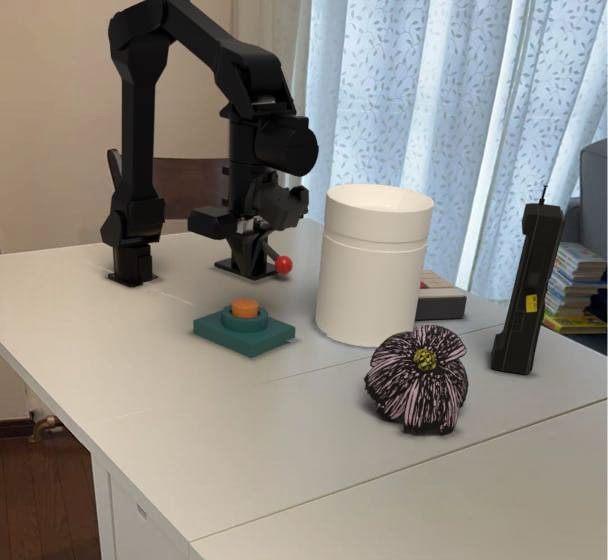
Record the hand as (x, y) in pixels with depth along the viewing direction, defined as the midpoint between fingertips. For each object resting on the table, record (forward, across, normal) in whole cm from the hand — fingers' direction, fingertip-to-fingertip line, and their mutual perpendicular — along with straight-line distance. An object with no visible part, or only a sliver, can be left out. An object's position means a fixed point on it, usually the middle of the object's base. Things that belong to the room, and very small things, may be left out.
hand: (246, 275), depth 117 cm
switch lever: (+6, +23, +16) cm, 29 cm away
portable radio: (+10, +23, -34) cm, 42 cm away
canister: (+10, +18, -10) cm, 23 cm away
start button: (+6, 0, 0) cm, 6 cm away
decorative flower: (+10, -1, -32) cm, 34 cm away
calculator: (+10, +34, -10) cm, 37 cm away
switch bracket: (+10, +23, +20) cm, 32 cm away
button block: (+10, 0, 0) cm, 10 cm away
